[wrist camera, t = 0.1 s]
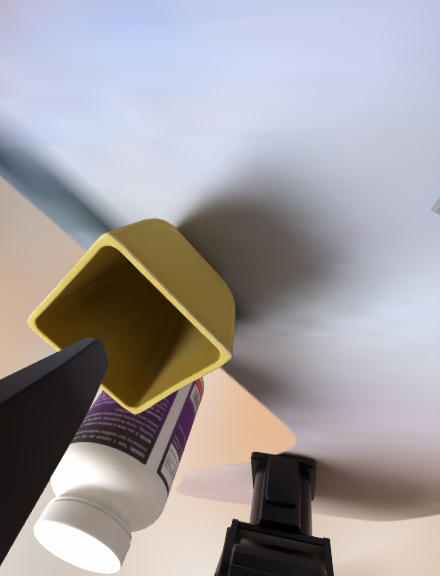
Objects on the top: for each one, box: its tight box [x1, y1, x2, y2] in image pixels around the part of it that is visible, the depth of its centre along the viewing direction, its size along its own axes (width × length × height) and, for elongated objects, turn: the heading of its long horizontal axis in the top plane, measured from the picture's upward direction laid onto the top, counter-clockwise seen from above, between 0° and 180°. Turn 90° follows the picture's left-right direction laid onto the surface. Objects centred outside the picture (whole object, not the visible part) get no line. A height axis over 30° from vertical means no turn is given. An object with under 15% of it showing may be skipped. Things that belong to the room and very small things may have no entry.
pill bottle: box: [34, 377, 204, 573], centre depth 24 cm, size 8×8×14 cm
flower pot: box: [27, 219, 235, 414], centre depth 21 cm, size 9×9×9 cm
